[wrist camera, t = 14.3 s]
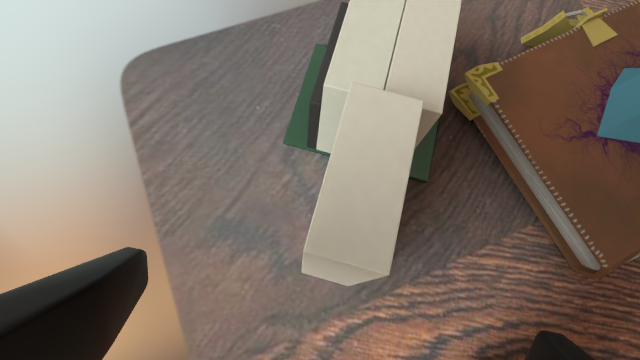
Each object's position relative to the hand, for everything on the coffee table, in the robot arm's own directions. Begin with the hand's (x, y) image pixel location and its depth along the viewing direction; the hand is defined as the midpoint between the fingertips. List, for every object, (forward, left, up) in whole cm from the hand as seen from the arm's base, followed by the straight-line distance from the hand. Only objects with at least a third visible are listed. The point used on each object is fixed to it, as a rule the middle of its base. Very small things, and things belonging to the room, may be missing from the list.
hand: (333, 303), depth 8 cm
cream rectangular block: (+5, +1, -14) cm, 14 cm away
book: (+23, -14, -14) cm, 30 cm away
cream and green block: (+13, +2, -14) cm, 19 cm away
